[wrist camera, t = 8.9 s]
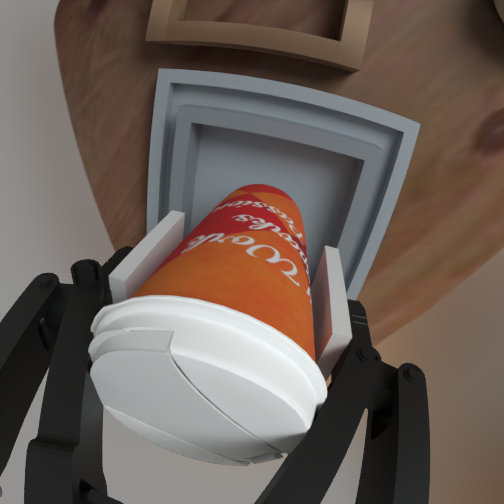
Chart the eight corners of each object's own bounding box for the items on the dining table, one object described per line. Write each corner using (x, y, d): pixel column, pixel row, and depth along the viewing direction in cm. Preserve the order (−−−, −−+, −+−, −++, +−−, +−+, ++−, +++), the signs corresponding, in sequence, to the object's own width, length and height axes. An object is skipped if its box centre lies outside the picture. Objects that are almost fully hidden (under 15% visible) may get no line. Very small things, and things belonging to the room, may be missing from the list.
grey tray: (168, 69, 18) (148, 67, 16) (412, 121, 18) (429, 126, 15) (154, 270, 28) (140, 289, 25) (340, 315, 27) (343, 339, 24)
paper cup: (344, 226, 19) (380, 438, 7) (263, 292, 22) (218, 478, 10) (252, 139, 17) (121, 262, 5) (180, 223, 20) (54, 382, 8)
